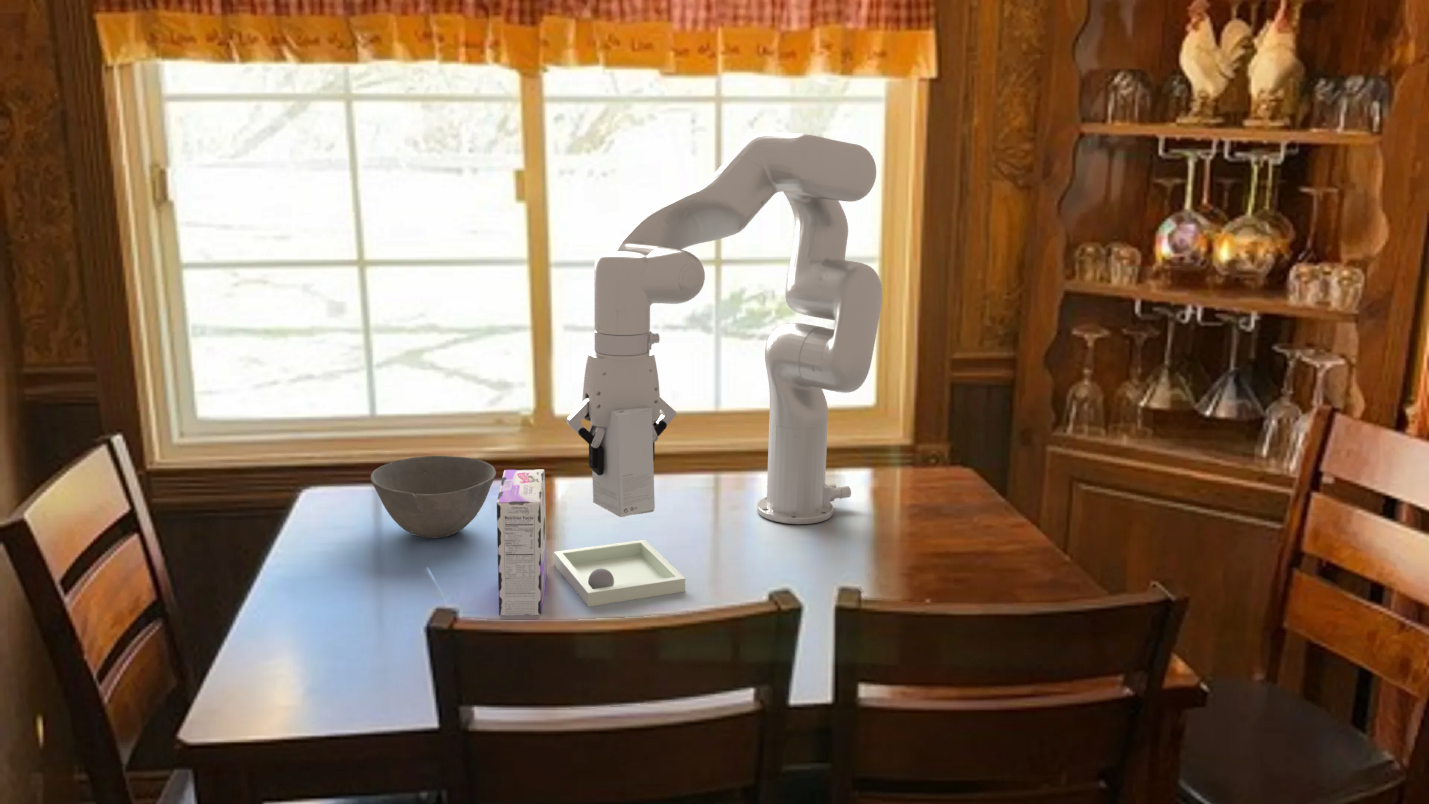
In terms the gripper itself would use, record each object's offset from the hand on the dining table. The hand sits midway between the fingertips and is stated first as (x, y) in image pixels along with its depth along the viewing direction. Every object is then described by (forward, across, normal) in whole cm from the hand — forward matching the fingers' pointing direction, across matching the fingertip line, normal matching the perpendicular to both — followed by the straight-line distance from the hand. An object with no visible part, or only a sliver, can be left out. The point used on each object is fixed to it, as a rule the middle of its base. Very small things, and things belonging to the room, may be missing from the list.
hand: (621, 468), depth 171 cm
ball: (+16, +5, +5) cm, 17 cm away
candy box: (+17, +15, +2) cm, 22 cm away
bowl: (+17, +21, -27) cm, 38 cm away
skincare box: (+6, 0, 0) cm, 6 cm away
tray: (+16, +1, +1) cm, 16 cm away
